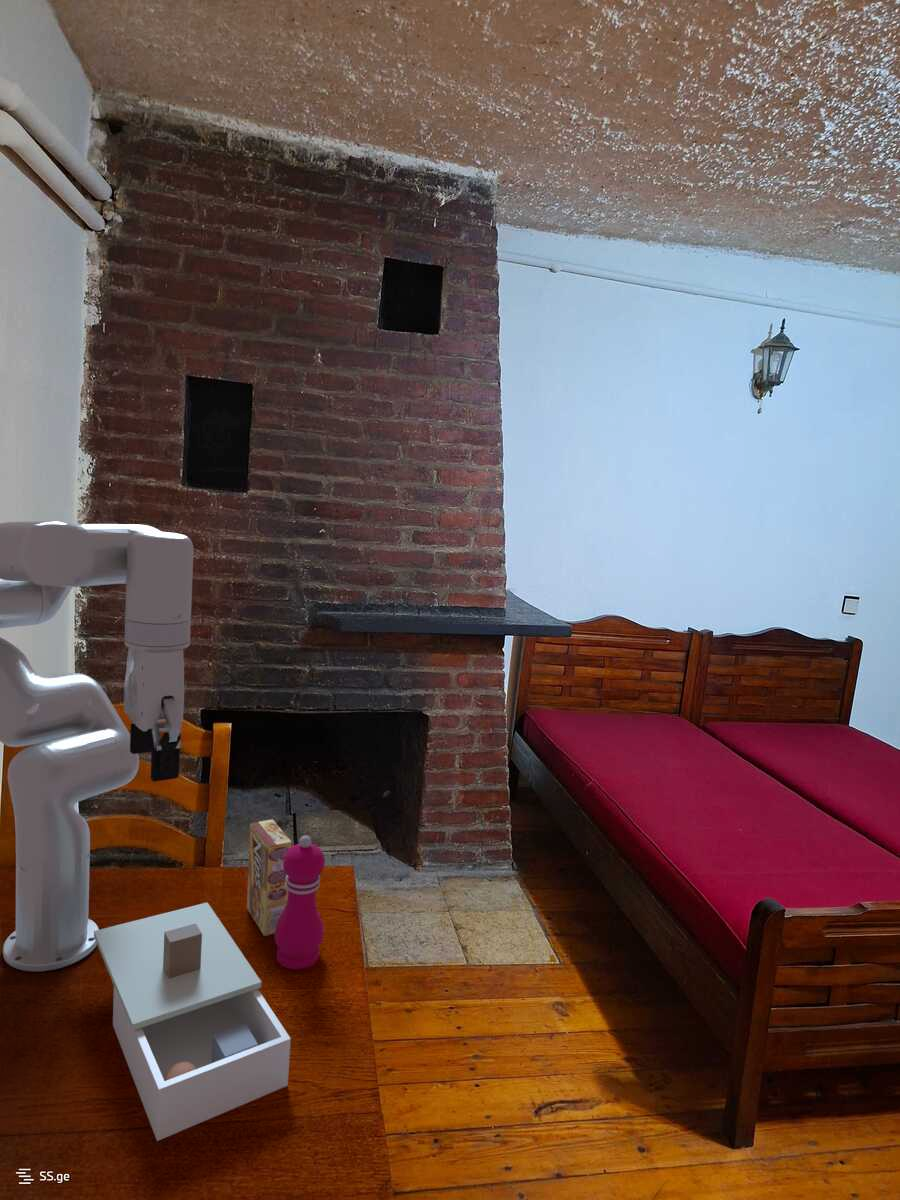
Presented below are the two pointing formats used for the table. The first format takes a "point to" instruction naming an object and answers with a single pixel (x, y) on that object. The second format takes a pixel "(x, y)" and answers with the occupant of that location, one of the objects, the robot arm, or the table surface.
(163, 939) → the lid
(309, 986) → the table surface
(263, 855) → the candy box
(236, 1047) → the slate block
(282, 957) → the pepper mill
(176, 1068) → the coral ball
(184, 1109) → the storage box
